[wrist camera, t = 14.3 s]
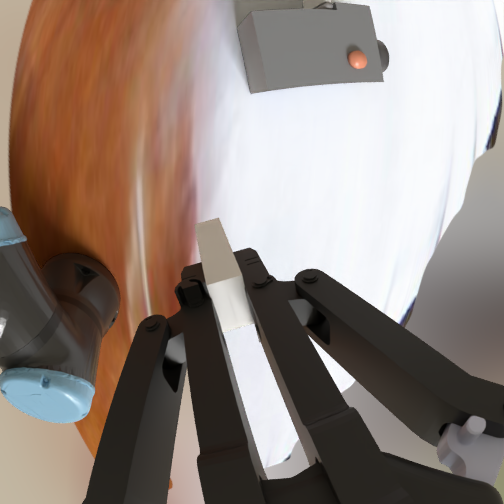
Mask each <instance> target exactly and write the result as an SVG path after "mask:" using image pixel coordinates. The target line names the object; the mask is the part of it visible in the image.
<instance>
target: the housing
mask: <svg viewBox="0 0 504 504" xmlns="http://www.w3.org/2000/svg"><path fill="white" fill-rule="evenodd" d="M332 5H333V8H332V9H275V10H259V11H251V12H250V13H249V14H248V15H247V17H246V18H245V19H244V20H243V21H242V22H241V24H240V25H239V26H238V27H237V30H238V35H239V40H240V44H241V49H242V54H243V58H244V63H245V68H246V73H247V78H248V83H249V88H250V93H251V94H253V93H259V92H265V91H271V90H278V89H286V88H294V87H302V86H312V85H323V84H337V83H355V82H384V81H383V74H382V72H384V71H385V70H386V69H387V67H388V64H389V53H388V50H387V48H386V46H385V45H384V43H383V42H381V41H380V40H377V38H376V33H375V29H374V24H373V19H372V15H371V11H370V7H369V6H365V5H357V4H347V3H333V4H332Z"/></svg>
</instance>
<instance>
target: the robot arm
mask: <svg viewBox="0 0 504 504" xmlns="http://www.w3.org/2000/svg"><path fill="white" fill-rule="evenodd" d="M195 230H196V236H197V241H198V246H199V251H200V257H201V263H197V264H194V265H190V266H187V267H184V269H183V271H182V273H181V278H182V282H180V283H179V284H178V285H177V286H176V287H175V294H176V296H177V298H178V301H179V303H180V306H181V309H180V311H179V312H177V313H176V314H175V315H173V316H171V317H169V318H168V319H166V318H165V317H164V316H162V315H152V316H149V317H147V318H145V319H144V320H143V321H142V322H141V323H140V325H139V326H138V329H137V331H136V334H135V336H134V339H133V342H132V345H131V347H130V350H129V353H128V356H127V358H126V361H125V364H124V367H123V370H122V373H121V376H120V379H119V382H118V385H117V388H116V391H115V394H114V397H113V400H112V403H111V406H110V409H109V413H108V416H107V419H106V422H105V426H104V429H103V433H102V436H101V440H100V443H99V447H98V450H97V454H96V458H95V462H94V466H93V470H92V474H91V478H90V482H89V486H88V491H87V495H86V498H85V500H84V501H83V503H82V504H167V496H168V488H169V480H170V472H171V465H172V458H173V450H174V443H175V437H176V430H177V424H178V417H179V410H180V405H181V399H182V393H183V387H184V381H185V375H186V370H187V369H188V377H189V385H190V392H191V399H192V405H193V411H194V418H195V424H196V430H197V436H198V442H199V447H200V455H199V456H198V457H197V466H198V472H199V477H200V482H201V487H202V492H203V497H204V501H205V504H503V501H502V498H501V496H500V494H499V492H498V491H497V490H496V488H494V487H493V486H494V483H495V481H496V478H497V475H498V472H499V470H500V467H501V464H502V461H503V458H504V386H503V385H500V384H496V383H493V382H490V381H487V380H484V379H480V378H477V377H474V376H471V375H469V374H468V373H466V372H465V371H464V370H462V369H461V368H459V367H458V366H457V365H455V364H454V363H453V362H451V361H450V360H449V359H447V358H446V357H444V356H443V355H442V354H440V353H439V352H438V351H436V350H435V349H433V348H432V347H431V346H429V345H428V344H426V343H425V342H424V341H422V340H421V339H419V338H418V337H417V336H415V335H414V334H412V333H411V332H409V331H408V330H407V329H405V328H404V327H402V326H401V325H400V324H398V323H397V322H395V321H394V320H392V319H391V318H390V317H388V316H387V315H385V314H384V313H382V312H381V311H379V310H378V309H377V308H375V307H374V306H372V305H371V304H369V303H368V302H366V301H365V300H364V299H362V298H361V297H359V296H358V295H356V294H355V293H353V292H352V291H350V290H349V289H348V288H346V287H345V286H343V285H342V284H340V283H339V282H337V281H336V280H334V279H333V278H331V277H330V276H328V275H327V274H325V273H324V272H322V271H320V270H318V269H306V270H303V271H301V272H299V273H298V274H297V275H296V276H295V281H277V280H276V279H275V278H274V277H273V276H272V275H269V273H268V271H267V269H266V268H265V266H264V264H263V262H262V261H261V259H260V257H259V255H258V253H257V252H256V251H255V250H253V249H251V248H247V249H243V250H240V251H236V252H232V249H231V247H230V244H229V242H228V239H227V237H226V234H225V232H224V229H223V227H222V225H221V222H220V220H219V218H216V219H212V220H209V221H205V222H202V223H198V224H195ZM26 240H27V238H26V236H25V235H23V233H22V231H21V229H20V227H19V225H18V224H17V222H16V220H15V217H14V215H13V214H12V212H11V211H10V210H9V209H7V208H5V207H0V368H1V369H2V371H3V372H2V373H1V374H0V388H1V392H2V394H3V395H4V397H5V398H6V399H7V400H8V401H9V402H10V403H11V404H12V405H13V406H14V407H16V408H17V409H19V410H20V411H22V412H24V413H26V414H28V415H30V416H33V417H35V418H38V419H41V420H44V421H48V422H54V423H71V422H76V421H79V420H81V419H83V418H84V417H85V416H86V415H87V414H88V412H89V410H90V407H91V402H92V397H93V395H94V394H95V381H96V373H97V366H98V360H99V353H100V347H101V342H102V338H103V337H104V335H105V334H106V333H107V332H108V330H109V329H110V328H111V326H112V325H113V324H114V322H115V320H116V318H117V316H118V312H119V307H120V291H119V288H118V285H117V283H116V281H115V279H114V277H113V276H112V275H111V273H110V272H109V271H108V270H107V269H106V268H105V267H104V266H103V265H102V264H100V263H99V262H97V261H96V260H94V259H92V258H90V257H88V256H85V255H82V254H77V253H64V254H60V255H57V256H55V257H53V258H51V259H50V260H49V261H48V262H47V263H46V264H45V265H44V266H43V268H42V269H40V267H39V265H38V263H37V261H36V259H35V257H34V255H33V253H32V251H31V249H30V247H29V245H28V243H27V241H26ZM254 323H255V327H256V331H257V335H258V339H259V342H261V344H262V346H263V349H264V352H265V354H266V357H267V359H268V362H269V364H270V367H271V369H272V372H273V375H274V377H275V380H276V382H277V385H278V387H279V390H280V392H281V395H282V397H283V400H284V402H285V405H286V407H287V410H288V412H289V414H290V417H291V419H292V422H293V424H294V427H295V429H296V432H297V434H298V436H299V439H300V441H301V444H302V446H303V448H304V451H305V453H306V456H307V459H308V462H309V465H310V467H309V468H307V469H305V470H304V471H302V472H301V473H299V474H297V475H296V476H294V477H291V478H284V479H270V480H268V479H267V477H266V474H265V472H264V469H263V466H262V463H261V460H260V457H259V454H258V451H257V447H256V444H255V441H254V438H253V435H252V431H251V428H250V425H249V422H248V418H247V415H246V412H245V408H244V405H243V402H242V398H241V395H240V391H239V388H238V384H237V381H236V377H235V374H234V370H233V366H232V363H231V359H230V355H229V352H228V348H227V344H226V341H225V338H224V335H223V333H224V332H227V331H231V330H234V329H237V328H241V327H244V326H247V325H251V324H254ZM307 334H308V335H309V336H310V337H311V338H312V339H313V340H314V341H315V342H316V343H317V344H318V345H319V346H320V347H321V348H322V349H323V350H325V351H326V352H327V353H328V354H329V355H330V356H331V357H332V358H333V359H334V360H335V361H336V362H337V363H338V364H339V365H340V366H342V367H343V368H344V369H345V370H346V371H347V372H348V373H349V374H350V375H351V376H352V377H353V378H354V379H356V380H357V381H358V382H359V383H360V384H361V385H362V386H363V387H364V388H365V389H366V390H367V391H369V392H370V393H371V394H372V395H373V396H374V397H375V398H376V399H377V400H378V401H379V402H380V403H382V404H383V405H384V406H385V407H386V408H387V409H388V410H389V411H390V412H392V413H393V414H394V415H395V416H396V417H397V418H398V419H399V420H400V421H401V422H403V423H404V424H405V425H406V426H407V427H408V428H409V429H410V430H411V431H413V432H414V433H415V434H416V435H418V436H419V437H420V438H421V439H423V440H425V441H426V442H428V443H430V444H432V445H433V446H436V447H437V455H438V458H439V461H440V462H441V464H444V465H446V466H448V467H449V468H450V470H451V471H452V473H453V474H451V473H447V472H444V471H441V470H437V469H434V468H431V467H428V466H424V465H421V464H418V463H415V462H412V461H409V460H407V459H404V458H401V457H398V456H395V455H392V454H390V453H385V452H381V451H380V449H379V447H378V445H377V444H376V442H375V440H374V438H373V437H372V435H371V433H370V431H369V430H368V428H367V426H366V424H365V423H364V421H363V419H362V418H361V416H360V414H359V413H358V411H357V410H356V409H355V408H354V407H349V406H348V405H347V403H346V402H345V400H344V398H343V397H342V395H341V393H340V391H339V389H338V388H337V386H336V384H335V382H334V381H333V379H332V377H331V375H330V373H329V372H328V370H327V368H326V366H325V365H324V363H323V361H322V359H321V358H320V356H319V354H318V352H317V351H316V349H315V347H314V345H313V344H312V342H311V340H310V338H309V336H308V335H307Z"/></svg>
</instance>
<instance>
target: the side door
mask: <svg viewBox="0 0 504 504" xmlns="http://www.w3.org/2000/svg"><path fill="white" fill-rule="evenodd" d="M332 8H333V5H332V3H331V0H303V9H332Z"/></svg>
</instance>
